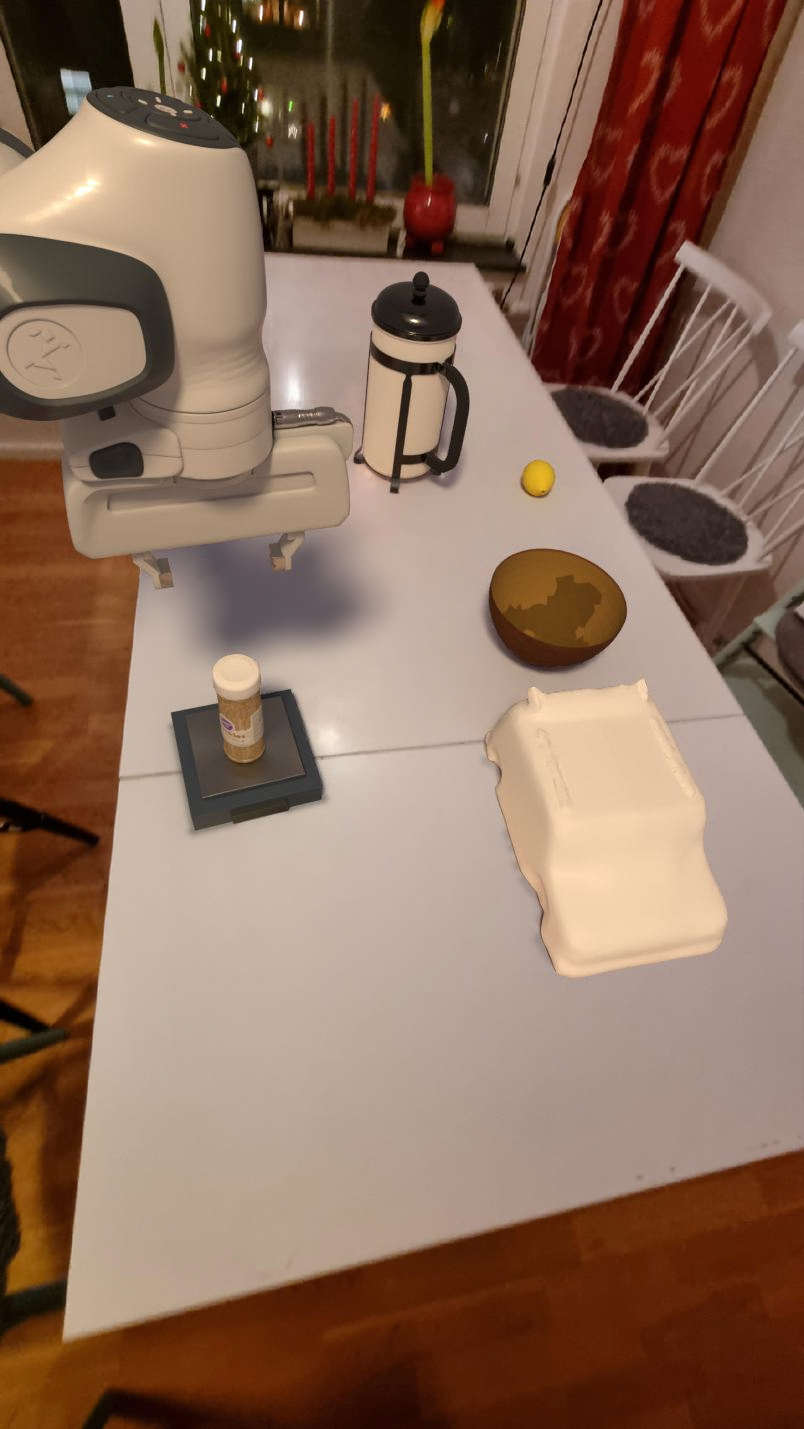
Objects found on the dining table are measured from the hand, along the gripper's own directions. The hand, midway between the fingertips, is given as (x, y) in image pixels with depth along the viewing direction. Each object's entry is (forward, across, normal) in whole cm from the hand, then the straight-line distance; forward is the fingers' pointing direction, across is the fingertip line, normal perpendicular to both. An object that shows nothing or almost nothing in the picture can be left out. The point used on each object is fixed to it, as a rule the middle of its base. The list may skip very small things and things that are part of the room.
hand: (223, 574), depth 57 cm
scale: (+29, 0, 0) cm, 29 cm away
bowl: (+29, -42, -8) cm, 52 cm away
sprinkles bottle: (+25, 0, +1) cm, 25 cm away
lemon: (+29, -57, -40) cm, 76 cm away
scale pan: (+27, 0, 0) cm, 27 cm away
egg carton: (+29, -35, +20) cm, 50 cm away
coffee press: (+29, -37, -49) cm, 68 cm away
